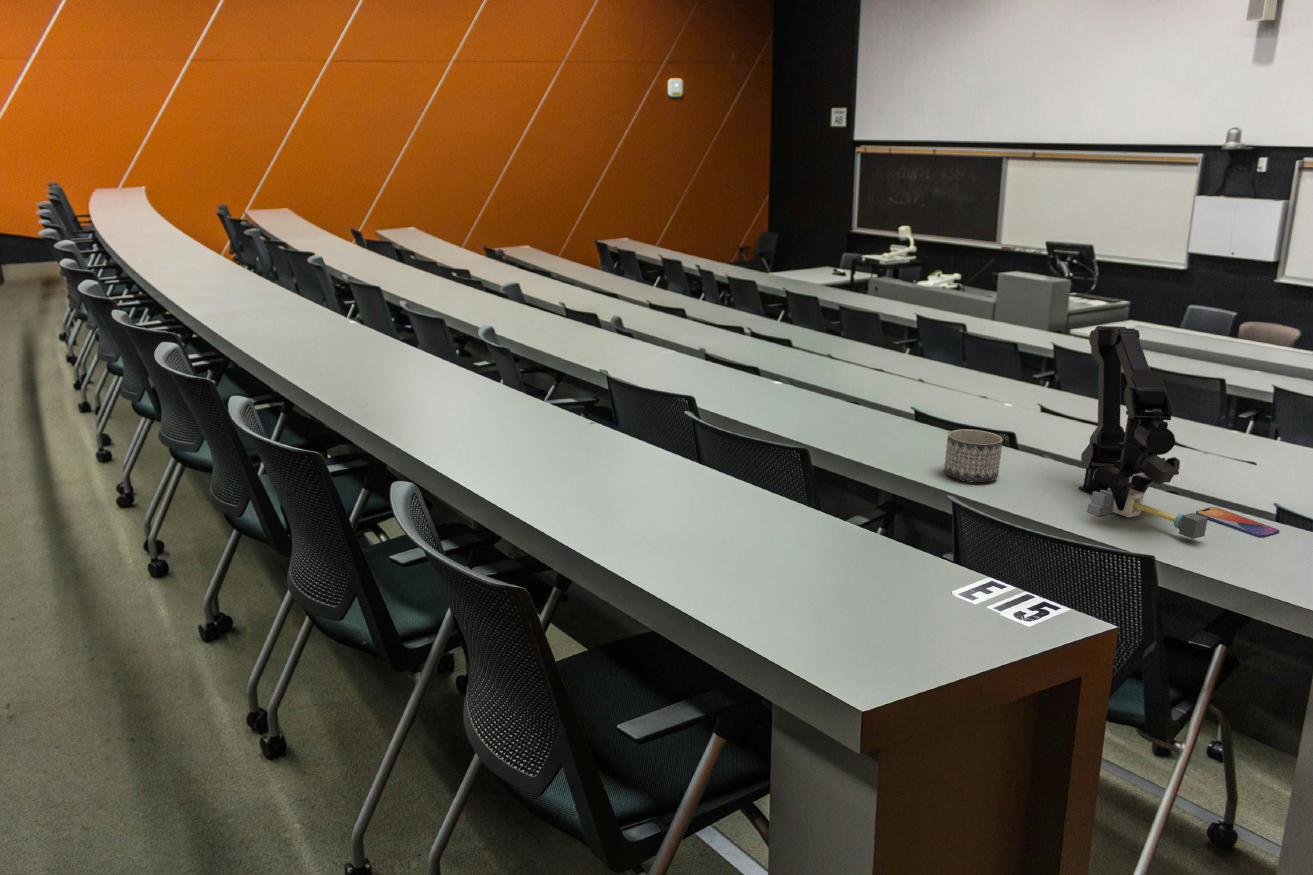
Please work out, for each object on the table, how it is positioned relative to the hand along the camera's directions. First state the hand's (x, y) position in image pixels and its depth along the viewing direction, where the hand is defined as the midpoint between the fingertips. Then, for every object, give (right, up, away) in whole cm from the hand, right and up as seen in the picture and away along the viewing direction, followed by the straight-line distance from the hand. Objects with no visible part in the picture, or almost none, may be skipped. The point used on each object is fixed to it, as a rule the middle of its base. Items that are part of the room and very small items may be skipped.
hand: (1127, 508), depth 209 cm
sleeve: (0, -2, +1) cm, 2 cm away
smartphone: (+23, -4, -2) cm, 23 cm away
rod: (+2, 0, -3) cm, 4 cm away
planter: (-26, +6, +25) cm, 37 cm away
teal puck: (+6, -3, -11) cm, 12 cm away
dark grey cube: (+7, -4, -12) cm, 15 cm away
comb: (-2, -1, +4) cm, 5 cm away
